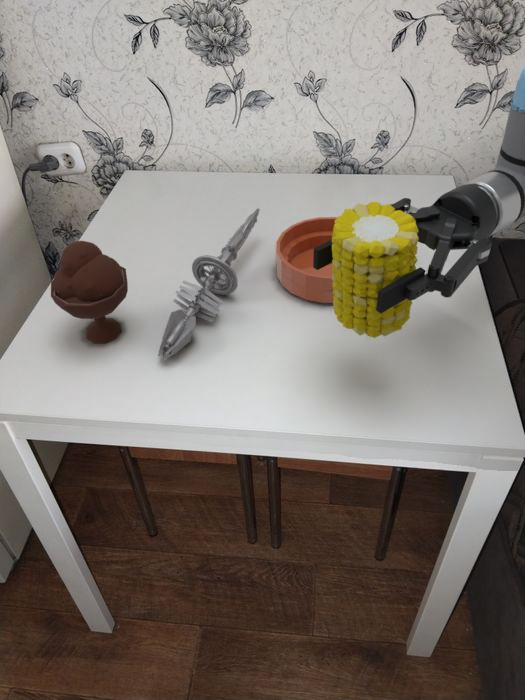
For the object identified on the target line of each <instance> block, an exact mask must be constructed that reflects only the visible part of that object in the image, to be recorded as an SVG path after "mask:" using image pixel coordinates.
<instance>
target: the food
mask: <svg viewBox="0 0 525 700" xmlns="http://www.w3.org/2000/svg"><path fill="white" fill-rule="evenodd" d="M336 217H337V219H336V220H335V221H334V222H335V224H334V228H333V236H332V243H333V244H332V257H333V260H332V263H333V264H332V270H333V273H332V280H333V283H332V284H333V294H334V295H333V299H334V300H333V303H332V304H333V305H332V306H333V307H332V308H333V311H334V314H335V316H336V320H337V321H338V322H339V323H341V324H342V327H344V328H345V329H348V330H352V331H353V332H355V333H356V334H357V335H358V336H360V337H361V336H363V335H366V336H367V337H370V338H373V339H376V338H377V337H380V336H383V337H386V336H388V335H391V334H392V333H395V332H398V331H400V330H402V329H403V326H404V325H405V324H406V323H407V322H408V320H410V318H411V316H410V315H411V307H412V305H413V300H411V301H410V300H408V299H405V300H403V301H402V302H400V303H398V304H397V305H395V306H393V307H391V308H390V309H388V310H386V311H385V312H383V313H379V312H378V311H376V306H377V298H378V291H379V290H380V289H382V288H384V287H386V286H388V285H389V284H391V283H393V282H395V281H396V280H398V279H400V278H402V277H404V276H405V275H407V274H409V273H411V272H413V271H414V270H416V269H417V267H416V263H417V261H418V260H419V259H418V258H417V257H418V256H416V255H417V254H418V243H419V242H418V240H419V237H418V235H417V233H418V232H419V231H418V228H417V225H416V221H415V219H414V218H413V216H411V215H409V214H406V213H404V212H403V211H401V210H398V211H395V208H393V207H392V206H391V205H390V203H389V204H381V203H380V202H378V201H370V202H368V204H363V203H357V204H355V205H354V206H353V208H345V209H344V210H343V212H342V214H341V215H338V216H336Z"/></svg>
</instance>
